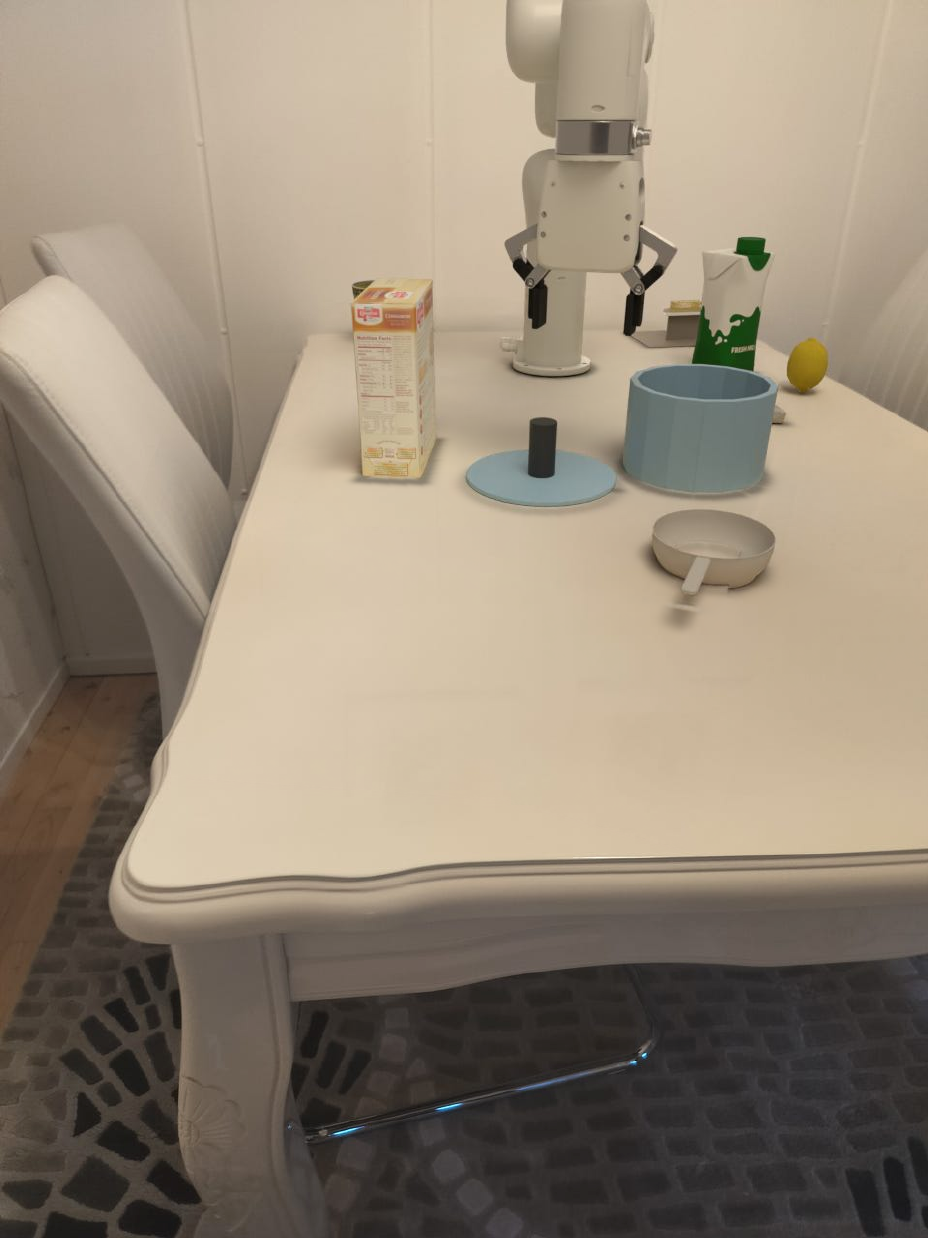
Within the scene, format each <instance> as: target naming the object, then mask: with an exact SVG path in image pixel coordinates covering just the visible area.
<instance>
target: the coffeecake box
mask: <svg viewBox="0 0 928 1238" xmlns="http://www.w3.org/2000/svg"><path fill="white" fill-rule="evenodd" d="M374 280H375V281H374V282H373V283H371V284H370V285H369V286H368V287H367V288H366V289H365V290H364V291H363V292H362V293H361V294H360V295H358V296H357V297H356V298H355V299H354V298H353V300H352V301H351V302H350V303H349V305H350V312H351V325H352V337H353V338H352V339H353V340H352V341H353V352H354V354H353V356H354V369H355V381H356V382H355V383H356V394H357V395H356V396H357V409H358V411H357V412H358V424H359V425H358V426H359V427H358V428H359V441H360V457H361V458H360V459H361V474H362V476H364V477H365V476H366V477H386V478H387V477H389V478H390V477H391V478H413V479H414V478H417V479H419V478H421V477H422V475H423V473H424V471H425V469H426V466H427V464H428V461H429V459H430V456H431V453H432V451H433V448H434V446H435V443H436V440H437V421H436V420H437V419H436V418H437V417H436V415H437V414H436V372H435V371H436V369H435V334H434V333H435V331H434V298H433V296H434V293H433V290H434V289H433V288H434V287H433V285H434V284H433V283H434V279H430V278H429V279H427V278H404V277H403V278H401V277H381V278H376V279H374Z"/></svg>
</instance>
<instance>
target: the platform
mask: <svg viewBox="0 0 928 1238" xmlns="http://www.w3.org/2000/svg"><path fill="white" fill-rule="evenodd" d="M686 302H688V303H686ZM700 309H701V300H696V301H692V299H685V300H684V299H683V300H681V299H679V300H670V306H669V308H664V309H663V310H662V315H663V316H664V317H667V323H666V331H654V332H653V331H652V332H634V333H633V334H632V335H631V336H630V337H632V338H634V339H635V340H637V341H638V342H640V343H642V344H643V345H644V346H646V347H648V348H673V347H693V346H694V347H695V344H696V339H697V332H698V325H699V317H700Z"/></svg>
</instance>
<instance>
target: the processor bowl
mask: <svg viewBox="0 0 928 1238" xmlns="http://www.w3.org/2000/svg"><path fill="white" fill-rule="evenodd" d="M779 387H780V385H779V384H778V383H777V382H775V381H774V380H773V379H772V378H771V377H769V376H766V375H764V374H761V373H759V372H755V371H754V372H753V371H748V370H743V369H738V368H733V367H728V366H717V365H706V364H691V363H673V364H663V365H654V366H650V367H647V368H643V369H640V370H636V371H635V372H634V373H633V374H632V375H631V377H630V378H629V389H628V399H627V411H626V420H625V432H624V443H623V455H622V465H623V467H624V470H625V472H626V473H627V474H628V475H630V476H632V477H633V478H635V479H637V480H638V481H640V482H642V483H646V484H649V485H651V486H654V487H658V488H661V489H665V490H671V491H679V492H686V493H692V494H693V493H695V494H697V493H698V494H699V493H700V494H704V493H705V494H709V493H710V494H711V493H713V494H717V493H718V494H719V493H720V494H723V493H728V492H735V491H740V490H746V489H748V488H750V487H752V486H754V485H756V484H758V483H760V482H761V481H762V478H763V475H764V472H765V466H766V460H767V454H768V449H769V443H770V437H771V432H772V425H773V423H772V421H773V415H774V409H775V405H776V403H777V397H778V391H779Z"/></svg>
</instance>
